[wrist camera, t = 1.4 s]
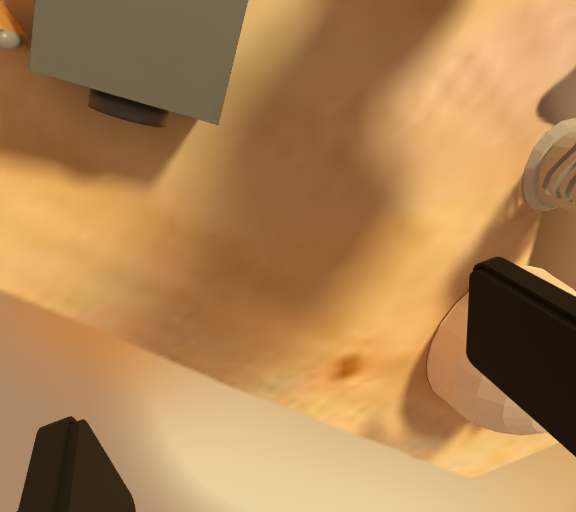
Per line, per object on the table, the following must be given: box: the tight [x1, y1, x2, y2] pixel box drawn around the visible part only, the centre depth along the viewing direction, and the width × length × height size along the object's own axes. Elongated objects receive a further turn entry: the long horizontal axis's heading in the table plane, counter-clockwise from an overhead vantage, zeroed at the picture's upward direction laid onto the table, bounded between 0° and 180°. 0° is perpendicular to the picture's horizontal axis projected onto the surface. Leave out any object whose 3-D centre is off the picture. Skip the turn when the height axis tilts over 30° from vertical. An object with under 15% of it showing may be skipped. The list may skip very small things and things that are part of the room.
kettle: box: [427, 266, 576, 435], centre depth 44 cm, size 20×21×18 cm
